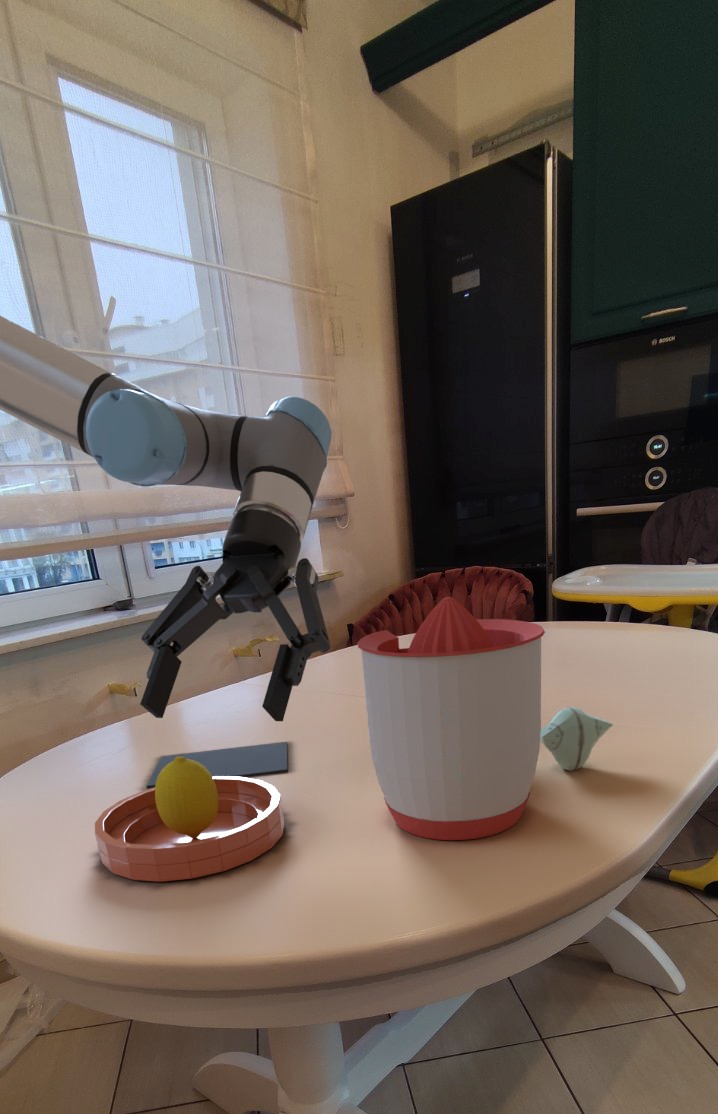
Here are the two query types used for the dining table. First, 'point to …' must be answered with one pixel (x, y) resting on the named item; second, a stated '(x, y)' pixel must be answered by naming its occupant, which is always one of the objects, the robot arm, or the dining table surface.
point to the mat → (235, 761)
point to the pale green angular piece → (572, 736)
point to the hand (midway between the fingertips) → (209, 713)
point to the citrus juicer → (455, 721)
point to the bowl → (163, 855)
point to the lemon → (186, 797)
